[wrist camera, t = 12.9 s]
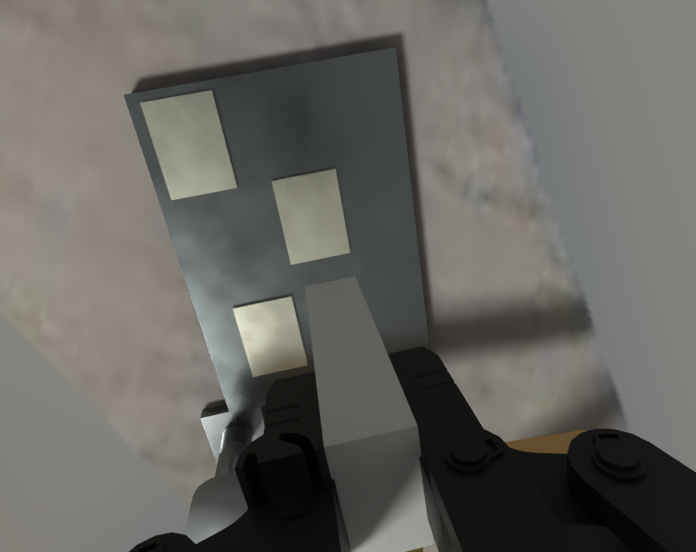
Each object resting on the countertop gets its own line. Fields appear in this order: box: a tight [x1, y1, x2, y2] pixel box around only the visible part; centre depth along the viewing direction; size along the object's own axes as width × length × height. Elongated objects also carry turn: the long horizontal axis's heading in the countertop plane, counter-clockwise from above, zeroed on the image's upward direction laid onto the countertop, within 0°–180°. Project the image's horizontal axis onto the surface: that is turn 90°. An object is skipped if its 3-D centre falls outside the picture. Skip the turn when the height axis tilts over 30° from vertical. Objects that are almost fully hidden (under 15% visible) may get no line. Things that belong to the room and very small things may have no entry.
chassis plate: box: [124, 47, 430, 413], centre depth 27 cm, size 20×14×1 cm
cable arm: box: [184, 429, 586, 544], centre depth 25 cm, size 24×4×2 cm, turn 95°
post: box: [200, 405, 265, 477], centre depth 29 cm, size 4×4×6 cm
